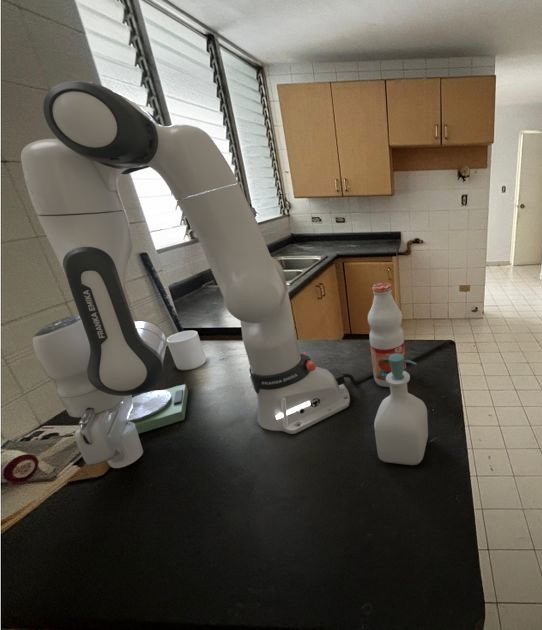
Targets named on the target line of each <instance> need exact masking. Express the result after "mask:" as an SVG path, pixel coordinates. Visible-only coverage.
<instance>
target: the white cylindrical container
mask: <svg viewBox="0 0 542 630" xmlns="http://www.w3.org/2000/svg"><path fill="white" fill-rule="evenodd" d="M118 445H119V446H118V448H119V449H120V450H121V451H122V452H123V454H124V459H123V460H122V461H119V462H116V463H114V462H112V460H108V461H106V462H107V464H108V465H109V467H111V468H113V469H121V468H125V467H127V466H129V465H131V464H133V463H135V462H136V461H138V460H139V459H140V458H141V457H142V456H143V454H144V449H143V446H142V443H141V440H140V436H139V434H138V433H137V430H136V427H135V424H134V423H133V422H126V425H125V428H124V430H123V433H122V436H121V438H120V441H119V444H118Z"/></svg>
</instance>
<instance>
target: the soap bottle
mask: <svg viewBox="0 0 542 630" xmlns="http://www.w3.org/2000/svg"><path fill="white" fill-rule="evenodd" d="M404 362H405V363H408V364H411V365H413V366H417V365H418V363H417V362H415V361H410V360H409V359H406V360H404V356H403V355H402V354H392V355H390V356H389V363H390V367H391V371H392V372H391V373H389V374H388V375H387V376H386V382H387V383H388V384H390V387H389V391H390V394H389V395H388V396H386V397H385V398H384V399H383V400H382V401H381V402H380V404H379V406H378V409H377V412H376V415H375V418H374V422H373V427H374V436H375V445H376V451H377V457H378V459H379V460H380V461H381V462H383V463H389V464H398V465H405V466H408V465H409V466H416V465H419V464H420V463H421V462H422V461H423V459H424V456H425V452H426V446H427V442H428V439H429V427H428V425H429V424H428V409H427V406H426V404H425V402H424V401H423V400H422V399H420V398H419V397H417V396H415V395H414V394H411V393H409V391H408V383H409V381H410V380H411V375H410V373H409V372H408V371H407V372H405V371H403V364H404Z"/></svg>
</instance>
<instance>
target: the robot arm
mask: <svg viewBox="0 0 542 630" xmlns="http://www.w3.org/2000/svg"><path fill="white" fill-rule="evenodd" d="M42 104H43V105H42V108H43V110H42V111H43V115H44V119H45V122H46V124H47V126H48V128H49V129H50V131H51V132H52V134H53V135H54V136H55V137H56V138H43V139H38V140H35V141H32V142H30V143H28V144H27V145H26V146H24V147H23V149H22V150H21V152H20V161H21V168H22V173H23V176H24V177H23V178H24V181H25V186H26V188H27V192H28V196H29V198H30V201H31V205H32V207H33V209H34V211H35V214H36V215H37V219H38V221H39V223H40V225H41V228H42V230H43V232H44V234H45V236H46V238H47V240H48V242H49V244H50V247H51V249H52V250H53V252H54V254H55V256H56V258H57V260H58V262H59V265H60V267H61V270H62V272H63V273H64V276H65V278H66V280H67V283H68V286H69V289H70V291H71V295H72V298H73V300H74V304H75V307H76V309H77V312H78V314H79V315H71V316H70V315H69V316H67V317H62V318H61V319H57V320H55V321H52V322H51V323H49V324H46V325H45V326H43V327H42V328H41V329H39V330H38V331H37V332H36V333H35V334H34V336H33V337H32V344H33V345H32V346H33V349H34V352H35V355H36V357H37V359H38V362H39V364H40V367H41V368H42V370H43V372H44V373H45V375H46V376H47V378H49V379H50V380H51V381H52V382H53V383H54V385H55V391H56V392H55V393H56V394H57V396H58V398H59V401H60V402H61V403H62V405H63V407H64V409H65V411H66V412H67V414H68V416H69V417H72V418H81V419H80V420H79V422H78V425H77V427H76V429H75V431H74V440H75V443H76V445H77V448H78V450H79V452H80V455H81V457H82V459H83V461H84V462H85V464H86V465H88V466H90V467H91V466H92V467H93V466H96V465H99V464H102V463H105V462H107V461H108V460H112V462H114V463H116V462H119V461H122V460H123V459H124V454H123V452H122V451H121V450H120V449H119V448H118V446H119V445H118V444H119V441H120V438H121V436H122V433H123V430H124V428H125V425H126V422H128V421H127V420H128V417H129V414H130V412H131V409H132V406H133V399H132V396H137V395H140V394H143V393H146V392H148V391H149V390H151V389H152V388H153V387H155V386H156V385H157V384H158V383H159V381H160V380H161V379H162V378H163V377H162V376H163V373H164V359H165V356H166V355H165V354H166V348H167V345H168V344H167V338H168V337H167V336H166V333H165V331H164V330H163V329H162V328H161V327H159V326H158V325H156V324H155V323H153V322H150V321H147V320H135V318H134V315H133V312H132V308H131V305H130V303H129V299H128V296H127V293H126V281H125V280H126V279H125V278H126V273H127V267H128V263H129V260H130V257H131V255H132V251H133V237H132V231H131V226H130V221H129V218H128V215H127V211H126V210H125V206H124V203H123V200H122V198H121V195H120V190H119V186H118V185H119V184H118V181H119V177H120V175H129V174H131V173H134V172H138V171H141V170H144V169H148V168H150V169H152V170H154V172H156V173H157V174H158V175H159V176H160V177H161V178H162V179H163V181H164V183H166V185H167V187H168V189H169V191H170V192H171V194H172V196H173V197H174V199H175V201H176V203H177V204H178V206H179V208H180V210H181V212H182V213H183V214H184V217H185V218H186V220H187V222H188V224H189V225H190V228H191V229H192V231H193V232H194V234H195V236H196V238H197V240H198V241H199V243H200V245H201V248H202V251H203V252H204V255H205V257H206V261H207V263H208V265H209V267H210V270H211V273H212V275H213V278H214V280H215V282H216V284H217V286H218V289H219V290H220V293H221V296H222V299H223V302H224V305H225V307H226V310H227V312H228V313H230V315H231V316H232V317H233V318H235V319H237V320H239V321H240V328H241V338H242V342H243V346H244V350H245V354H246V357H247V360H248V364H249V378H250V381H251V384H252V385H251V386H252V388H253V390H254V392H255V393H256V399H257V418H256V420H257V423H258V425H259V427H261V428H263V429H264V430H267V431H273V432H284V433H287V434H289V435H295V434H298V433H299V432H302V431H303V430H305V429H308V428H310V427H311V426H313V425H315V424H318V423H319V422H322V421H324V420H325V419H328V418H329V417H331V416H333V415H335V414H337V413H339V412H341V411H343V410H345V409H347V408H348V407H350V403H351V396H350V395H351V394H350V392H349V389H348V388H347V387H346V385H345V384H346V381H345V378H347V379H348V378H349V379H350V382H351V383H352V384H356V385H357V384H360V383H362V382H364V381H367V380H369V379H371V378H372V377H374V374H373V371H372V372H371V373H369V374H368V375H366V376H364V377H363V378H361V379H355V378H354V376H353V374H351V373H342V372H341V371H340V370H339V369H338V368H337V367H334V368H331V369H329V370H328V369H327V368H323V367H319V366H317V365H316V363H315V362H314V361H313V360H311V357H310V356H309V355H307V353H306V352H305V351H303V352H302V353H301V352H300V347H299V343H298V342H299V341H298V338H297V332H296V328H295V322H294V316H293V311H292V306H291V300H290V295H289V294H290V293H289V289H288V284H287V279H286V274H285V271H284V268H283V266H282V265H281V263H280V262H279V261H278V260H277V259H275V257H273V256H271V253H270V251H269V248H268V246H267V243H266V241H265V239H264V236H263V234H262V231H261V228H260V225H259V223H258V220H257V219H256V216H255V214H254V212H253V211H252V207H251V206H250V204H249V202H248V200H247V198H246V195H245V193H244V192H243V189H242V187H241V185H240V183H239V181H238V179H237V177H236V175H235V173H234V172H233V170H232V167H231V166H230V164H229V163H228V161H227V160H226V158H225V156H224V154H223V153H222V152H221V150H220V149H219V147H218V145H217V144H216V142H215V141H214V140H213V139H212V137H211V136H210V134H208V132H206V131H205V130H203V129H201V128H200V127H198V126H194V125H190V124H181V123H180V124H173V125H161V123H160V122H159V120H158V119H157V118H156V116H155V117H154V115H153V114H151V113H150V111H148V110H146V109H144V108H143V107H141V106H140V105H139V104H138V103H136V102H135V101H134V100H133V99H131V98H129V97H127V96H125V95H124V94H121V93H118V92H116V91H114V90H111V89H110V88H108V87H106V86H104V85H101V84H98V83H95V82H92V81H85V80H70V81H68V80H67V81H64V82H63V81H62V82H60V83H58V84H56V85H54V86H53V87H52V88H50V89H49V90H48V91H47V93H46V95H45V97H44V100H43V103H42ZM445 341H450V342H445ZM453 342H454V343H453ZM450 343H451V344H453V345H454V344H456V342H455V341H454V339H446V340H444V341H442V342H441V343H438V344H435V345H434V346H433V347H430V348H429V349H427V350H425V351H424V352H422V353H420V354H418V355H416V356H413V357H412V358H409V359H408V360H410V361H413V362H415V361H417V360H419V359H421V358H423V357H425V356H427V355H429V354H430V353H432V352H434V351H435V350H437V349H439V348H441V347H443V346H445V345H446V344H450ZM408 364H409V363H406V365H408Z"/></svg>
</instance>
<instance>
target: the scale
mask: <svg viewBox="0 0 542 630" xmlns="http://www.w3.org/2000/svg"><path fill="white" fill-rule="evenodd" d="M163 390H164V391H168V392H169V393H170V394H171V396H172V398H171V401H170V402H169V403H168V405H167V406H165V407H164V408H163V409H161V410H160V411H158V412H157V413H155V414H153V415H151V416H148V417H146V418H143V419H140V420H137V421H133V423H134V424H135V427H136V430H137V433H138V435H139V434H141V433H142V434H143V433H146V432H149V431H152V430H155V429H158V428H161V427H166V426H168V425H172V424H175V423H177V422H180V421H184V420H185V418H186V410H187V405H188V397H189V396H188V395H189V389H188V386H187V384H186V383H184V384H183V383H182V384H180V385H176V386H173V387H169V388H165V389H163Z"/></svg>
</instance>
